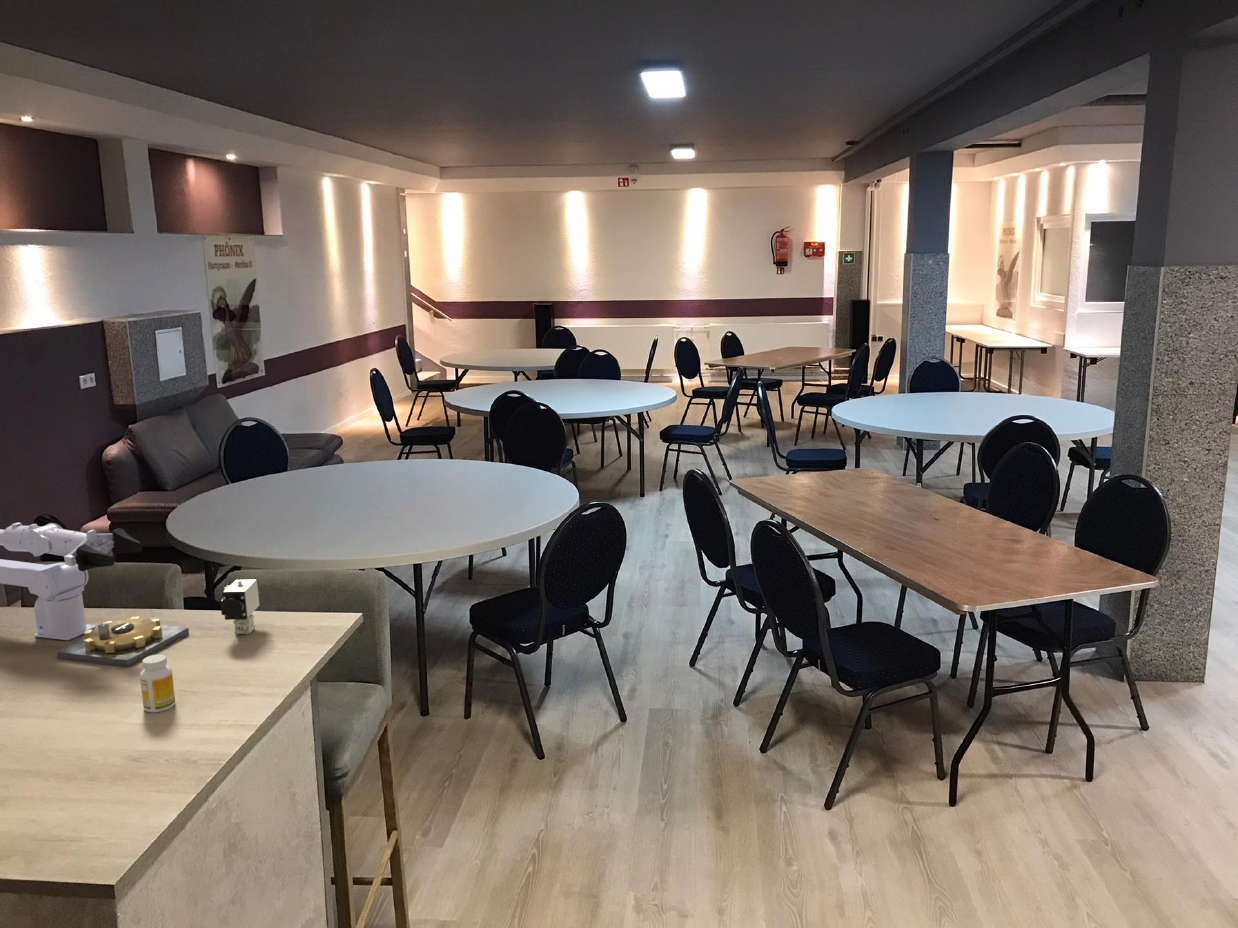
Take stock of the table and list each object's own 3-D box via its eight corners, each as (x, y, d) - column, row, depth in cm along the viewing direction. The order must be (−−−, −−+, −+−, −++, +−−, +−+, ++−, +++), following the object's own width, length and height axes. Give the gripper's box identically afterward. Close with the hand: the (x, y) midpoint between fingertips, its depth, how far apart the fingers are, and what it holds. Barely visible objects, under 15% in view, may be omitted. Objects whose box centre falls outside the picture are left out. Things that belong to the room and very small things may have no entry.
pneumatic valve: (264, 621, 220) (259, 571, 217) (246, 641, 209) (241, 589, 206) (239, 622, 220) (234, 572, 217) (220, 642, 208) (215, 590, 206)
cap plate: (57, 658, 201) (56, 651, 201) (122, 626, 218) (121, 620, 218) (128, 667, 197) (127, 660, 196) (189, 633, 213) (188, 627, 213)
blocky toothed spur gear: (121, 622, 216) (118, 601, 215) (176, 628, 212) (174, 607, 211) (68, 648, 202) (65, 626, 201) (126, 655, 198) (123, 632, 197)
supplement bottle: (138, 713, 177) (132, 664, 175) (152, 700, 182) (146, 652, 180) (167, 713, 177) (161, 664, 175) (180, 699, 182) (175, 652, 180)
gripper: (44, 540, 201) (95, 549, 197) (100, 516, 214) (149, 524, 210) (50, 571, 203) (101, 580, 199) (105, 545, 216) (154, 554, 212)
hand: (126, 553), depth 205 cm, fingers open, 7 cm apart
